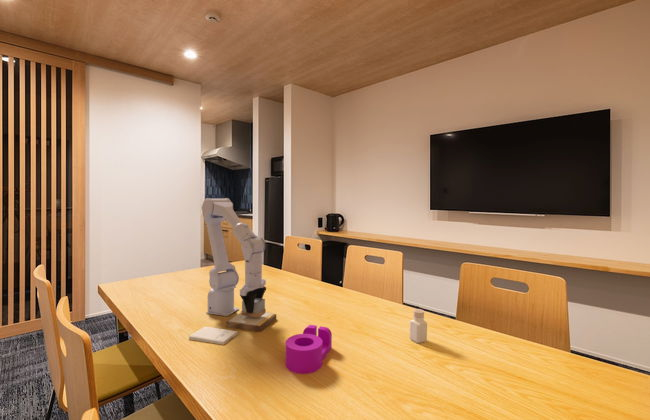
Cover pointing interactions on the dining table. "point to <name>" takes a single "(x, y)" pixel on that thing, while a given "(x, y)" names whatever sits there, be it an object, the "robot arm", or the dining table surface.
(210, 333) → the external hard drive
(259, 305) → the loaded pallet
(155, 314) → the dining table surface
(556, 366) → the dining table surface
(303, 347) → the magenta clevis bracket
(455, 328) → the dining table surface
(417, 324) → the salt shaker
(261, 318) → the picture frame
